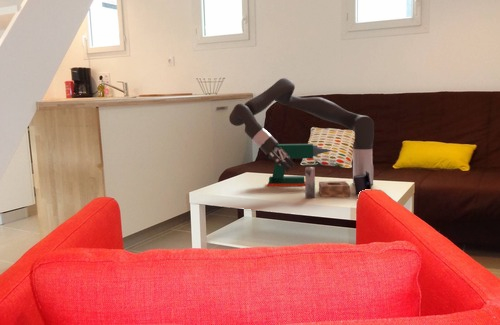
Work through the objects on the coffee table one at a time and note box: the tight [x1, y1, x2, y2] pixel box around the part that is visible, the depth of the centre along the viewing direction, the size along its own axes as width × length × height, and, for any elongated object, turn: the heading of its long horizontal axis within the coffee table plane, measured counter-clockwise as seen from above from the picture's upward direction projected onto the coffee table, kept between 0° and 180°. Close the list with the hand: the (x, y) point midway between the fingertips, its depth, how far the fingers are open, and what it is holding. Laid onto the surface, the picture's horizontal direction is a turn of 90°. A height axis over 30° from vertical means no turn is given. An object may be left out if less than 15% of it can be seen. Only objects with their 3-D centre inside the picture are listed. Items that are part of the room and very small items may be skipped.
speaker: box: [352, 171, 372, 196], centre depth 202 cm, size 8×6×10 cm
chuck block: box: [318, 180, 351, 198], centre depth 205 cm, size 12×12×4 cm
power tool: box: [267, 143, 333, 187], centre depth 228 cm, size 32×7×20 cm, turn 84°
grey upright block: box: [304, 166, 316, 199], centre depth 198 cm, size 7×4×13 cm, turn 162°
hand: (291, 168), depth 199 cm, fingers open, 8 cm apart
